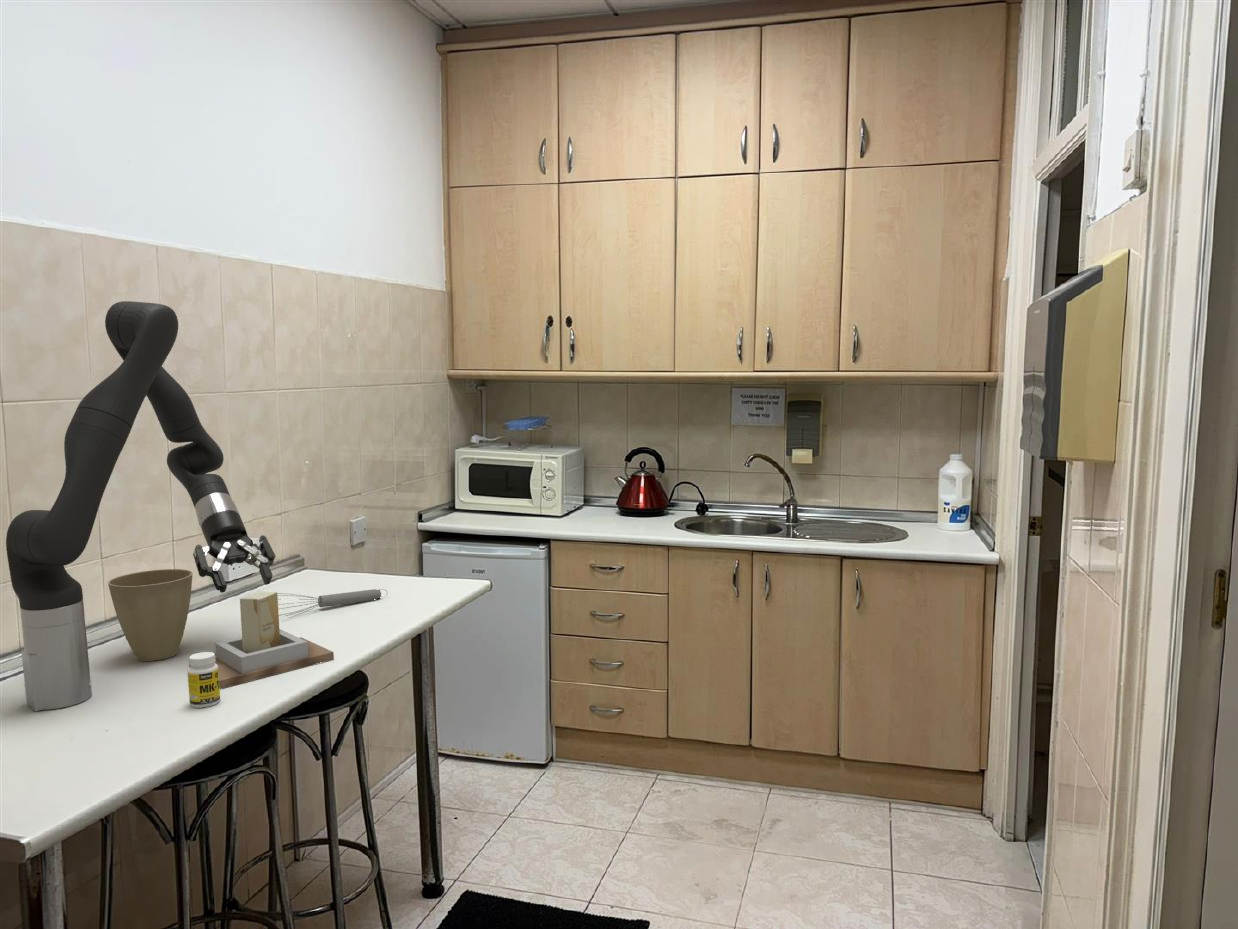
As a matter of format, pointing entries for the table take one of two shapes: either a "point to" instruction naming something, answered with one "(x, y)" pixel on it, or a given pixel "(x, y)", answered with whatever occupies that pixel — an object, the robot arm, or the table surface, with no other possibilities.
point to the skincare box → (259, 621)
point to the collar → (261, 653)
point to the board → (234, 677)
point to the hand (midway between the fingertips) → (246, 586)
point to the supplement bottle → (203, 680)
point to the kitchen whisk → (338, 599)
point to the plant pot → (152, 610)
